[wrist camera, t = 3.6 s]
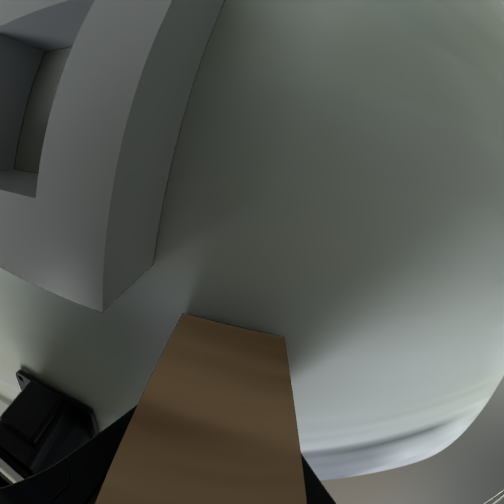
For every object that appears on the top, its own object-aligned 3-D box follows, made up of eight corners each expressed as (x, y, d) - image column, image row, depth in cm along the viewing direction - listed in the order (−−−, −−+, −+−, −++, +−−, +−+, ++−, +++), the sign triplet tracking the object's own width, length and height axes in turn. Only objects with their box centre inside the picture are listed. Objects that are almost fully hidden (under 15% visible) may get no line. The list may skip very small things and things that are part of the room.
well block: (153, 264, 10) (102, 312, 6) (-13, 211, 10) (-65, 227, 6) (225, -2, 7) (212, -66, 3) (34, 19, 7) (-10, -1, 3)
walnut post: (257, 404, 12) (254, 611, 2) (172, 385, 11) (107, 584, 2) (284, 337, 10) (316, 617, 1) (182, 313, 10) (67, 580, 1)
